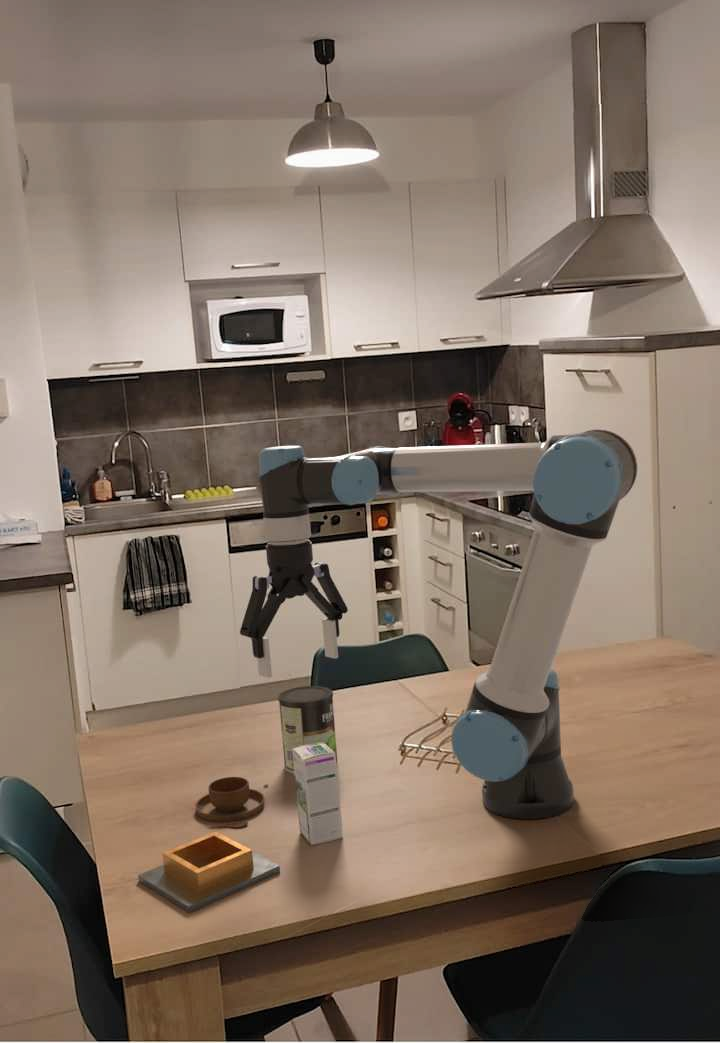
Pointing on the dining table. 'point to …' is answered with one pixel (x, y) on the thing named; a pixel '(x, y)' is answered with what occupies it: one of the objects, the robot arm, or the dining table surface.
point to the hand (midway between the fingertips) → (299, 666)
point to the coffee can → (306, 720)
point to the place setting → (230, 801)
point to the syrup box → (317, 793)
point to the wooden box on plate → (206, 871)
